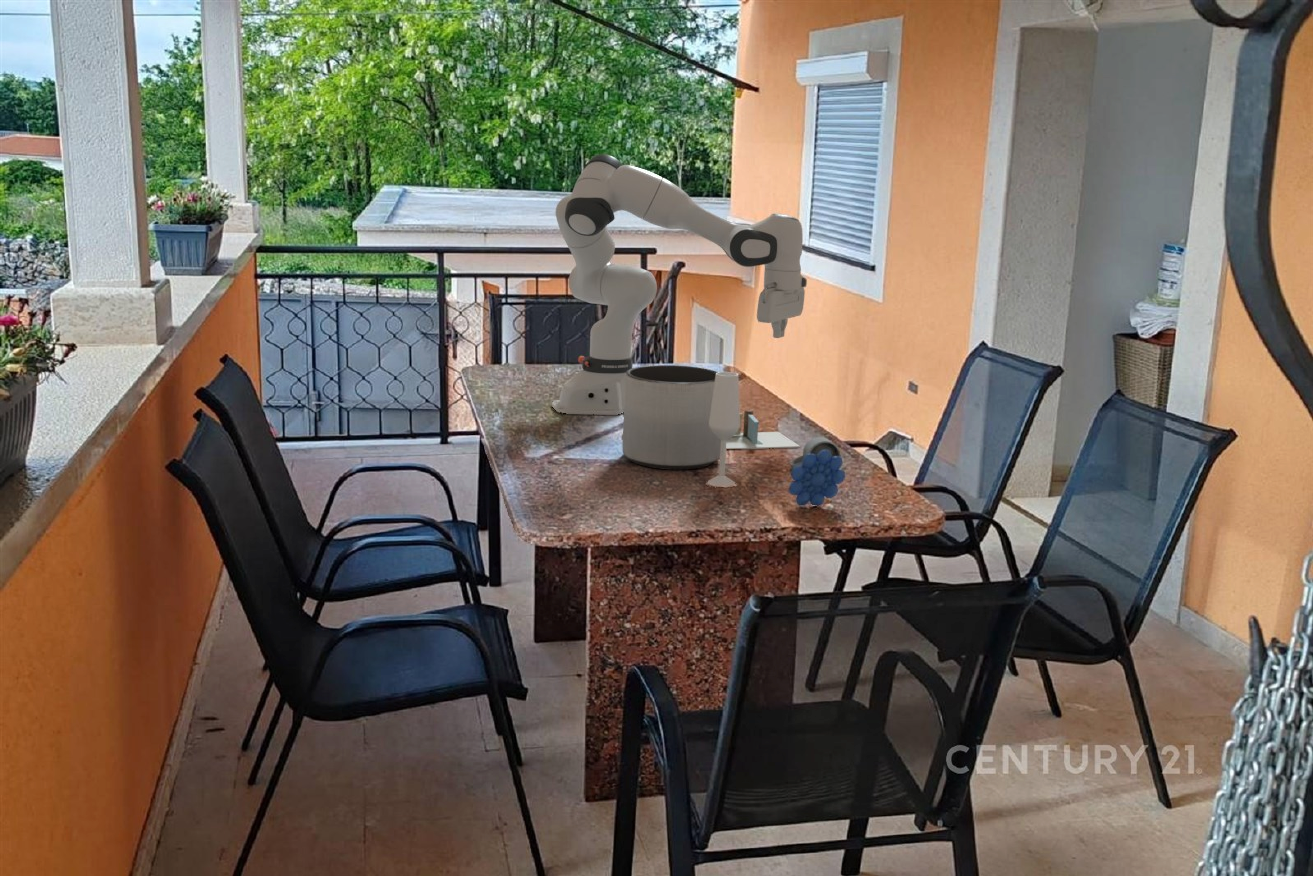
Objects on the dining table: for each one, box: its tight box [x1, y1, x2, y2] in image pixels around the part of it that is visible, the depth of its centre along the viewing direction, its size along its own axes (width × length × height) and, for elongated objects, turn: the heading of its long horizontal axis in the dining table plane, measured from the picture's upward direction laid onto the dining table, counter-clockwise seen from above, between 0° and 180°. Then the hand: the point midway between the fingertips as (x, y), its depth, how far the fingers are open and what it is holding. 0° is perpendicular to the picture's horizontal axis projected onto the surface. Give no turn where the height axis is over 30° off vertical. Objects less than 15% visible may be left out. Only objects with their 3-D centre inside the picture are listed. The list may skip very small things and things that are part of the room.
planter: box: [621, 364, 721, 470], centre depth 280 cm, size 23×23×20 cm
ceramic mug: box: [789, 436, 842, 470], centre depth 276 cm, size 11×8×8 cm
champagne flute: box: [707, 371, 741, 486], centre depth 260 cm, size 7×7×24 cm
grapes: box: [788, 450, 846, 507], centre depth 248 cm, size 12×7×12 cm, turn 99°
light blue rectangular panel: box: [748, 414, 760, 444], centre depth 299 cm, size 8×1×5 cm, turn 7°
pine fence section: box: [734, 409, 754, 437], centre depth 303 cm, size 13×2×7 cm, turn 105°
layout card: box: [726, 431, 801, 450], centre depth 301 cm, size 21×15×1 cm
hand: (778, 337), depth 302 cm, fingers closed
